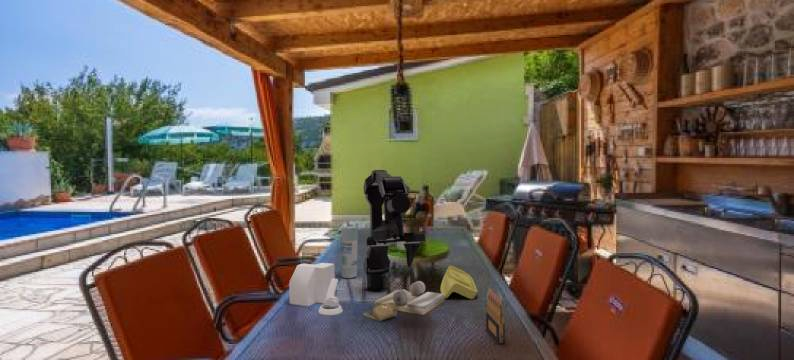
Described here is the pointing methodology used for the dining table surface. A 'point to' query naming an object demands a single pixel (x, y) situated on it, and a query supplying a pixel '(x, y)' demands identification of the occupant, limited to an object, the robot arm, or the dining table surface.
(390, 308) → the brass cylinder with flap
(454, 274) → the plastic component
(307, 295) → the white rounded block
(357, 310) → the dining table surface
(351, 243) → the spray paint can
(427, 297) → the hinge base
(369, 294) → the dining table surface
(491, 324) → the ammunition clip
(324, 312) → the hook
